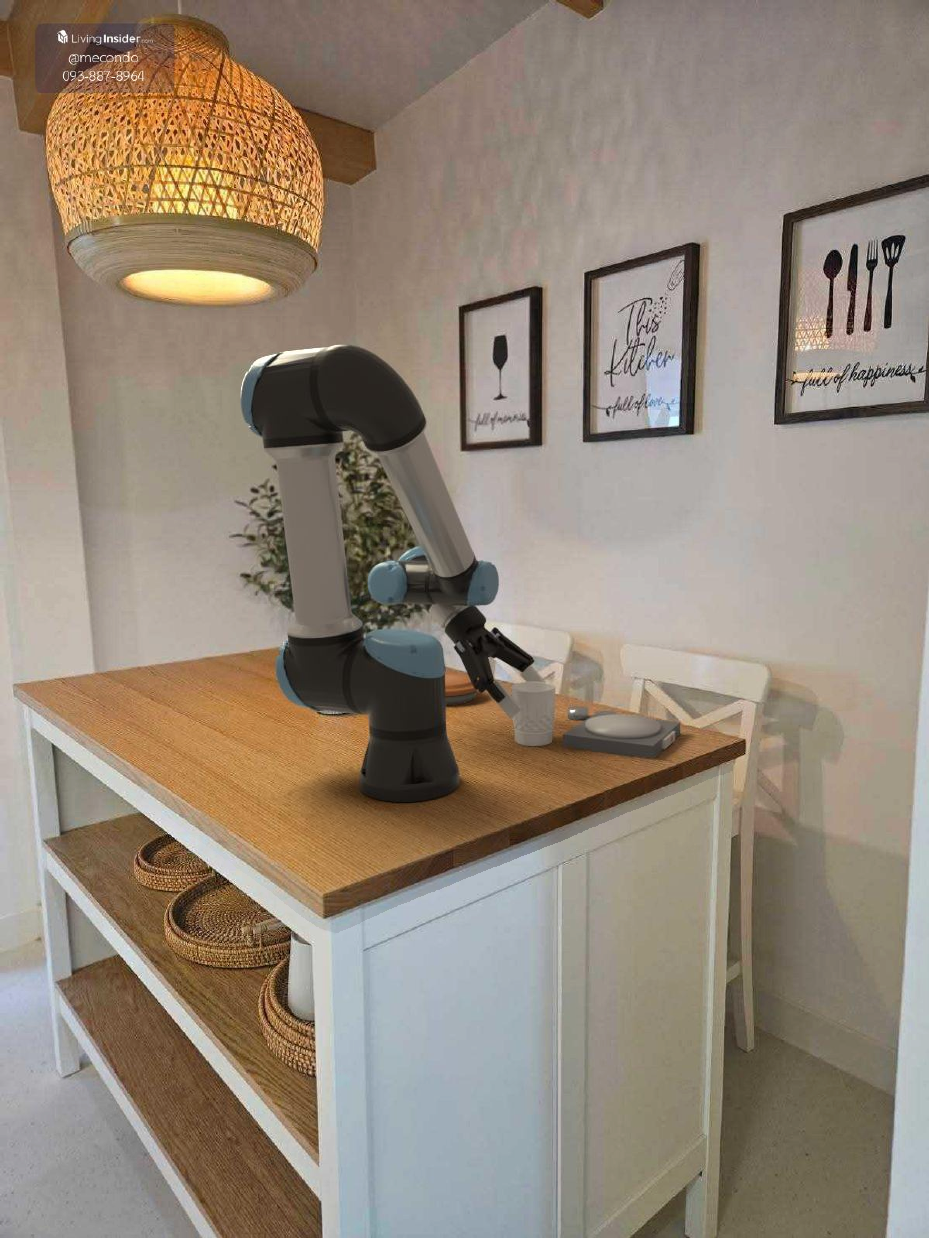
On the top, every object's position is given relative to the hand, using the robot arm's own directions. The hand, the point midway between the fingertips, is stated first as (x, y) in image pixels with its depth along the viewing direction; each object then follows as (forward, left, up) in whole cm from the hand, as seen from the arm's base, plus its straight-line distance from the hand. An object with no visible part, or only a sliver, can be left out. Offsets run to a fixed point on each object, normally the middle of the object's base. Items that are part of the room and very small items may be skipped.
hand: (533, 704), depth 146 cm
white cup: (-2, -1, -6) cm, 7 cm away
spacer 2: (+15, -8, -6) cm, 18 cm away
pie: (+19, +30, -7) cm, 37 cm away
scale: (+5, -15, -6) cm, 17 cm away
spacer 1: (+16, -2, -6) cm, 18 cm away
